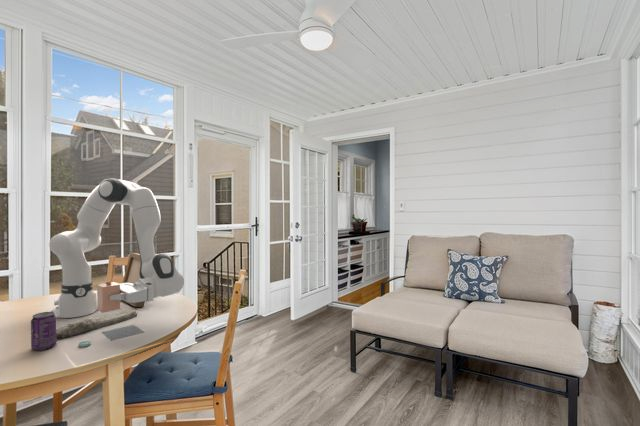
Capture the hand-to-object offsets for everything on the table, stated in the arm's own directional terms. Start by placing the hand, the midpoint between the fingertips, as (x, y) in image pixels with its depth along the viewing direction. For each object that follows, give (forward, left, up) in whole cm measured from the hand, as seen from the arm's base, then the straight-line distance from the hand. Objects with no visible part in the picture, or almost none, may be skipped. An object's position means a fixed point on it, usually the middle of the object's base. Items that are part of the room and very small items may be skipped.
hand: (105, 295), depth 131 cm
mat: (-2, +6, -17) cm, 18 cm away
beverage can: (-8, -18, -17) cm, 26 cm away
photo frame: (-43, +29, -17) cm, 54 cm away
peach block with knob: (0, +1, -5) cm, 5 cm away
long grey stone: (-17, +1, -17) cm, 25 cm away
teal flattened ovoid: (+2, -8, -17) cm, 19 cm away
